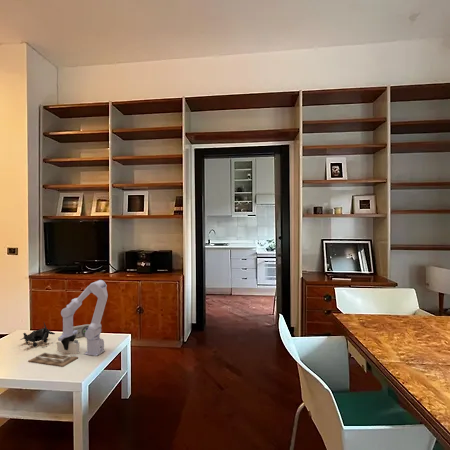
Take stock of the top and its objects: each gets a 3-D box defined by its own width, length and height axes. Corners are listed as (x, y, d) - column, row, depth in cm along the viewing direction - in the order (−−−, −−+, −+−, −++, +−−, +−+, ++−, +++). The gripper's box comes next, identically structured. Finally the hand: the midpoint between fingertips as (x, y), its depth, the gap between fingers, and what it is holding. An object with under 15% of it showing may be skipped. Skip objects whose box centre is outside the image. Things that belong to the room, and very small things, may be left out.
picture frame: (77, 358, 199) (77, 354, 199) (62, 366, 188) (62, 362, 188) (44, 354, 206) (44, 350, 206) (28, 361, 195) (28, 357, 195)
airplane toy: (38, 351, 211) (38, 326, 211) (11, 349, 215) (11, 325, 215) (59, 339, 231) (59, 317, 231) (34, 338, 235) (34, 316, 234)
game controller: (62, 341, 229) (62, 328, 229) (62, 340, 231) (62, 327, 231) (93, 335, 240) (93, 323, 240) (92, 334, 242) (92, 323, 241)
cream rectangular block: (79, 352, 209) (79, 339, 209) (76, 353, 206) (75, 341, 206) (60, 349, 213) (60, 337, 213) (57, 351, 210) (57, 339, 210)
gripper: (71, 322, 218) (71, 343, 218) (53, 329, 204) (54, 352, 204) (80, 323, 216) (80, 345, 216) (63, 330, 202) (63, 353, 202)
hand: (68, 348), depth 210 cm, fingers closed on cream rectangular block, 3 cm apart
